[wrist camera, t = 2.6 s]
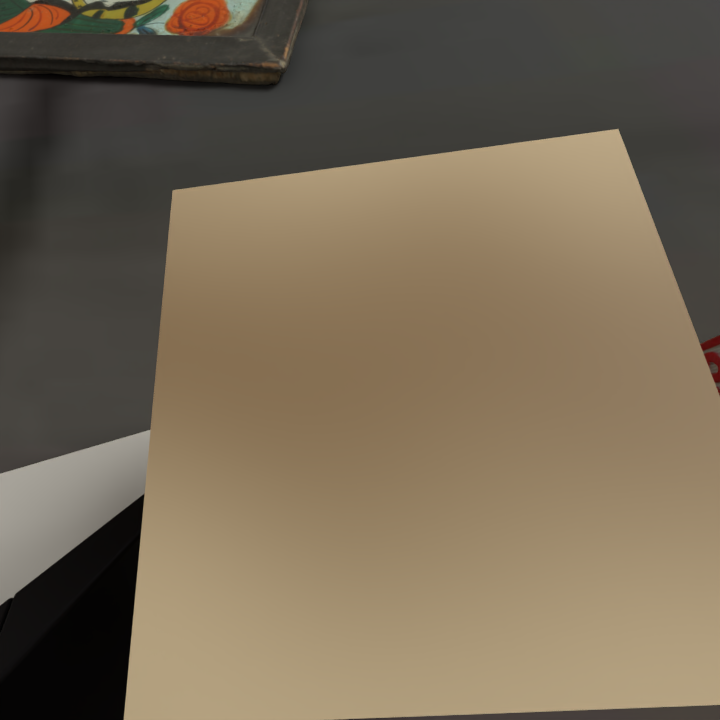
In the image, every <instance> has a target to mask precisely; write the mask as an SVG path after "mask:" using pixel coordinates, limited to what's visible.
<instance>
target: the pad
mask: <svg viewBox="0 0 720 720" xmlns="http://www.w3.org/2000/svg"><path fill="white" fill-rule="evenodd" d="M150 431H151V430H148V431H145V432H142V433H138V434H135V435H131V436H128V437H124V438H121V439H118V440H114V441H111V442H107V443H104V444H101V445H97V446H94V447H90V448H87V449H84V450H80V451H77V452H73V453H70V454H67V455H63V456H60V457H56V458H53V459H49V460H46V461H43V462H39V463H36V464H32V465H29V466H26V467H22V468H19V469H15V470H12V471H9V472H5V473H2V474H0V605H1V604H3V603H4V602H5V601H6V600H8V599H9V598H12V597H13V598H14V595H15V594H16V593H17V592H18V591H19V590H21V589H22V588H23V587H25V586H26V585H27V584H28V583H30V582H31V581H32V580H34V579H35V578H36V577H37V576H39V575H40V574H41V573H43V572H44V571H45V570H46V569H48V568H49V567H50V566H52V565H53V564H54V563H55V562H57V561H58V560H59V559H61V558H62V557H63V556H64V555H66V554H67V553H68V552H70V551H71V550H72V549H73V548H75V547H76V546H77V545H79V544H80V543H81V542H83V541H84V540H85V539H86V538H88V537H89V536H90V535H92V534H93V533H94V532H95V531H97V530H98V529H99V528H101V527H102V526H103V525H104V524H106V523H107V522H108V521H110V520H111V519H112V518H113V517H115V516H116V515H117V514H119V513H120V512H121V511H122V510H124V509H125V508H126V507H128V506H129V505H130V504H131V503H133V502H134V501H135V500H137V499H138V498H139V497H140V496H142V495H143V494H144V493H145V485H146V474H147V463H148V452H149V442H150Z"/></svg>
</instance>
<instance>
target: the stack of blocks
mask: <svg viewBox="0 0 720 720" xmlns="http://www.w3.org/2000/svg"><path fill="white" fill-rule="evenodd" d="M700 345H701V348H702V351H703V353H704V356H705V359H706V361H707V364H708V366H709V369H710V372H711V374H712V377H713V380H714V382H715V385H716V388H717V390H718V393H719V395H720V335H719V336H716V337H714V338H712V339H710V340H707V341H705V342H703V343H701V344H700Z"/></svg>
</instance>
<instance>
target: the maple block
mask: <svg viewBox="0 0 720 720" xmlns="http://www.w3.org/2000/svg"><path fill="white" fill-rule="evenodd" d="M701 705H720V395H719V393H718V390H717V388H716V385H715V382H714V380H713V377H712V374H711V372H710V369H709V366H708V364H707V361H706V359H705V356H704V353H703V351H702V348H701V345H700V343H699V340H698V338H697V335H696V332H695V330H694V327H693V324H692V322H691V319H690V317H689V314H688V311H687V309H686V306H685V303H684V301H683V298H682V295H681V293H680V290H679V288H678V285H677V282H676V280H675V277H674V274H673V272H672V269H671V267H670V264H669V261H668V259H667V256H666V253H665V251H664V248H663V246H662V243H661V240H660V238H659V235H658V232H657V230H656V227H655V224H654V222H653V219H652V217H651V214H650V211H649V209H648V206H647V203H646V201H645V198H644V196H643V193H642V190H641V188H640V185H639V182H638V180H637V177H636V175H635V172H634V169H633V167H632V164H631V161H630V159H629V156H628V154H627V151H626V148H625V146H624V143H623V140H622V138H621V135H620V132H619V130H618V129H615V130H608V131H601V132H593V133H586V134H579V135H572V136H564V137H557V138H550V139H543V140H535V141H528V142H521V143H513V144H506V145H499V146H492V147H484V148H477V149H470V150H463V151H455V152H448V153H441V154H434V155H426V156H419V157H412V158H405V159H397V160H390V161H383V162H375V163H368V164H361V165H354V166H346V167H339V168H332V169H325V170H317V171H310V172H303V173H296V174H288V175H281V176H274V177H267V178H259V179H252V180H245V181H238V182H230V183H223V184H216V185H208V186H201V187H194V188H187V189H179V190H173V194H172V204H171V215H170V226H169V237H168V247H167V258H166V269H165V280H164V291H163V301H162V312H161V323H160V334H159V345H158V355H157V366H156V377H155V388H154V398H153V409H152V420H151V431H150V442H149V452H148V463H147V474H146V485H145V496H144V506H143V517H142V528H141V539H140V549H139V560H138V571H137V582H136V593H135V603H134V614H133V625H132V636H131V646H130V657H129V668H128V679H127V690H126V700H125V711H124V720H334V719H361V718H387V717H413V716H439V715H465V714H492V713H518V712H544V711H570V710H596V709H622V708H649V707H675V706H701Z"/></svg>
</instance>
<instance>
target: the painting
mask: <svg viewBox="0 0 720 720" xmlns="http://www.w3.org/2000/svg"><path fill="white" fill-rule="evenodd" d="M308 1H309V0H0V74H61V75H73V76H77V77H89V76H90V77H92V76H113V77H136V78H154V79H165V80H181V81H198V82H220V83H236V84H252V85H269V84H271V83H273V84H274V85H275V84H277V83H278V81H279V78H280V76H281V73H285V72H286V70H287V67H288V65H289V63H290V59H291V55H292V51H293V48H294V44H295V41H296V38H297V35H298V33H299V29H300V26H301V24H302V20H303V17H304V14H305V11H306V8H307V4H308Z"/></svg>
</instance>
